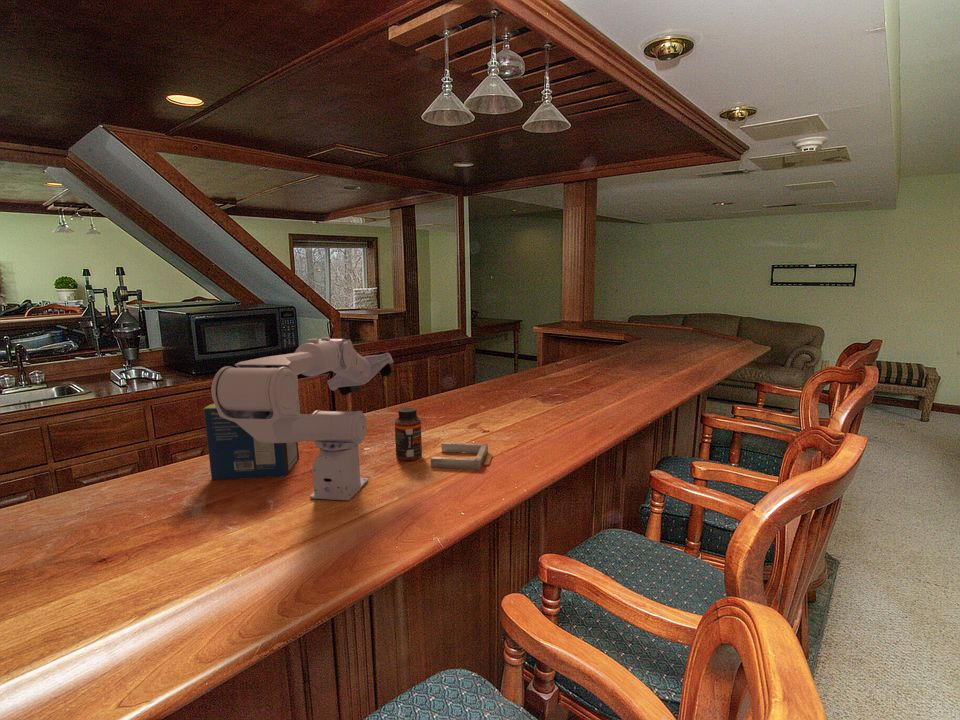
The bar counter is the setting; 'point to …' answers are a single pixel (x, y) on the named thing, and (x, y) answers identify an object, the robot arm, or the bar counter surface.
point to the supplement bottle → (408, 435)
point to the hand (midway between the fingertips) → (373, 379)
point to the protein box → (244, 451)
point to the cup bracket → (462, 462)
